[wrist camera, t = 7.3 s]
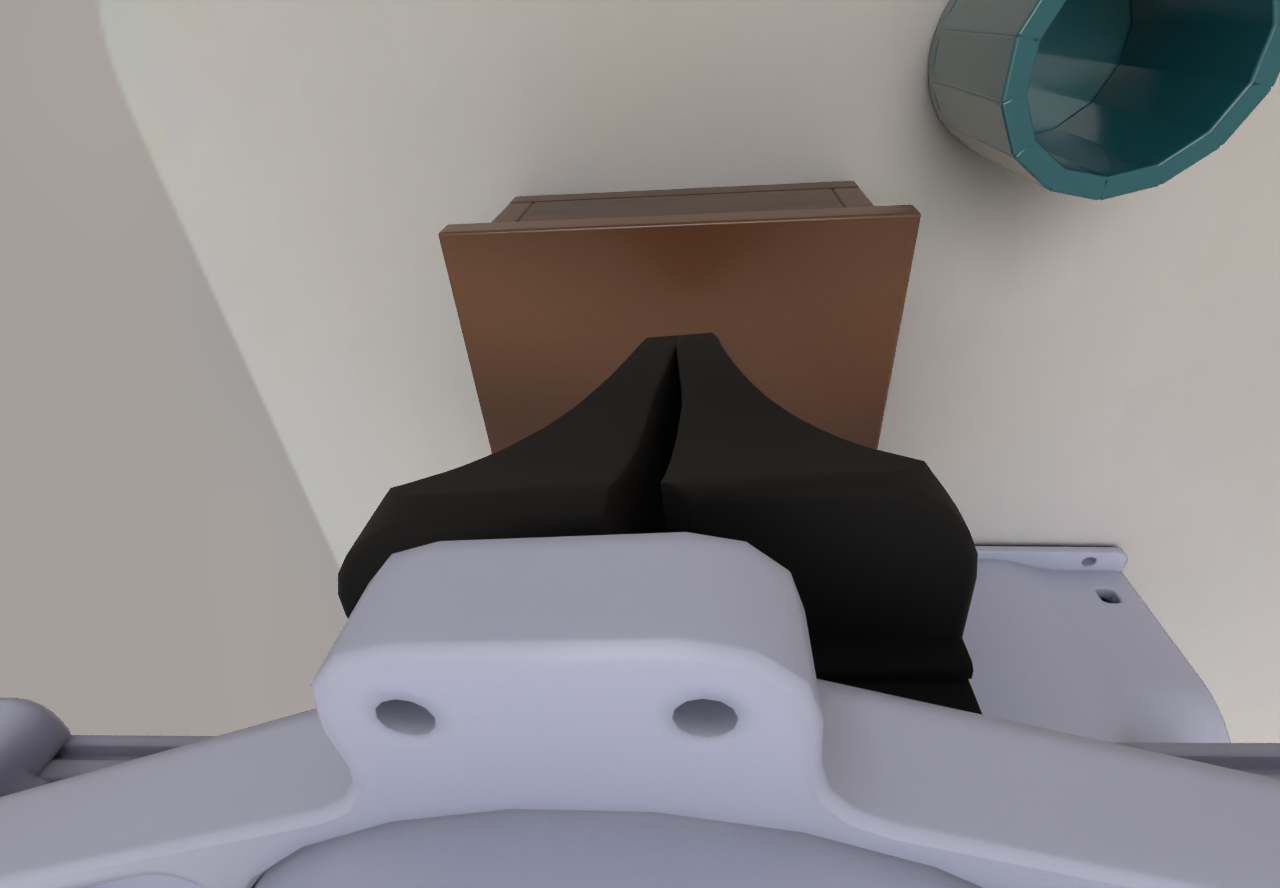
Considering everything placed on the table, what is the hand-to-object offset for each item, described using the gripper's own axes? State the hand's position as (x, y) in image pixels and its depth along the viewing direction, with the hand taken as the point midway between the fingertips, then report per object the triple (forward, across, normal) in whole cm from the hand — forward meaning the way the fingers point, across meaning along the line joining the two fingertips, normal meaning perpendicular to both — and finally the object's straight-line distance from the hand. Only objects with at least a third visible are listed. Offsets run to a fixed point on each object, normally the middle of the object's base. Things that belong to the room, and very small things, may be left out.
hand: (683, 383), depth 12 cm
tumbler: (+10, -9, -4) cm, 15 cm away
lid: (+4, +1, +4) cm, 6 cm away
